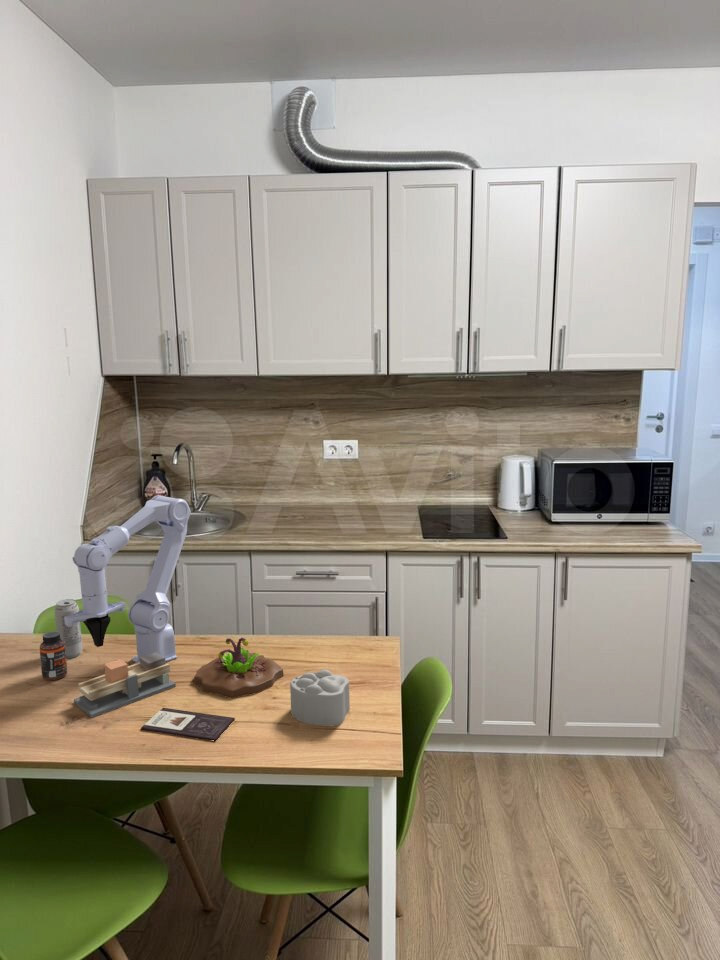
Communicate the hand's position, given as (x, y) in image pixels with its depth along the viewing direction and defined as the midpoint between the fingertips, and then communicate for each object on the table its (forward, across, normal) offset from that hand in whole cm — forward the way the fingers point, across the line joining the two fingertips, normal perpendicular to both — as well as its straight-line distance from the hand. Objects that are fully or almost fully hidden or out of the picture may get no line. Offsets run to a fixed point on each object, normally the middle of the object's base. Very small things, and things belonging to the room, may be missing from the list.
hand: (98, 645), depth 174 cm
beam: (+8, +2, -10) cm, 13 cm away
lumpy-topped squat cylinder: (+10, +29, -50) cm, 58 cm away
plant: (+10, +26, -22) cm, 36 cm away
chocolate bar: (+11, +5, -33) cm, 35 cm away
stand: (+10, +2, -10) cm, 14 cm away
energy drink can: (+10, +1, +22) cm, 24 cm away
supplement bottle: (+10, -7, +12) cm, 17 cm away
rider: (+6, 0, -10) cm, 12 cm away
